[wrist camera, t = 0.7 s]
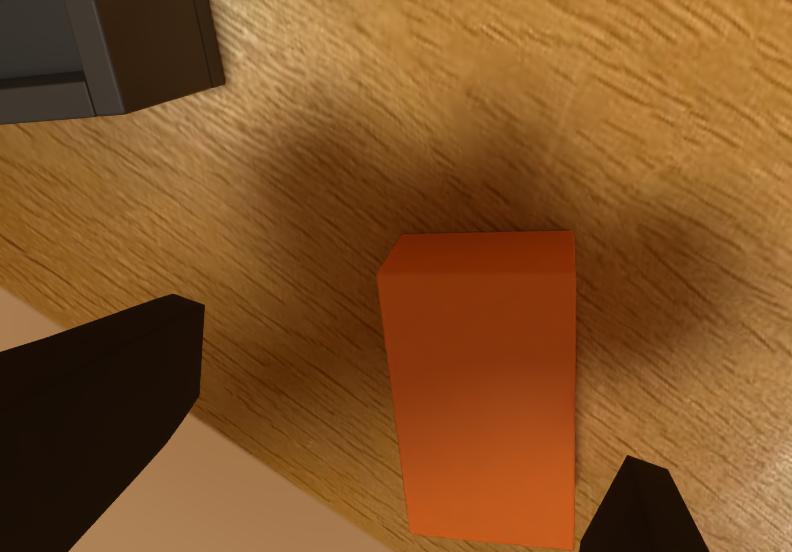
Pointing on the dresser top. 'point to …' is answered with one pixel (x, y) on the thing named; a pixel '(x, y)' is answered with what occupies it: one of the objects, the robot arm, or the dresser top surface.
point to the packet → (484, 383)
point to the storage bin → (102, 56)
